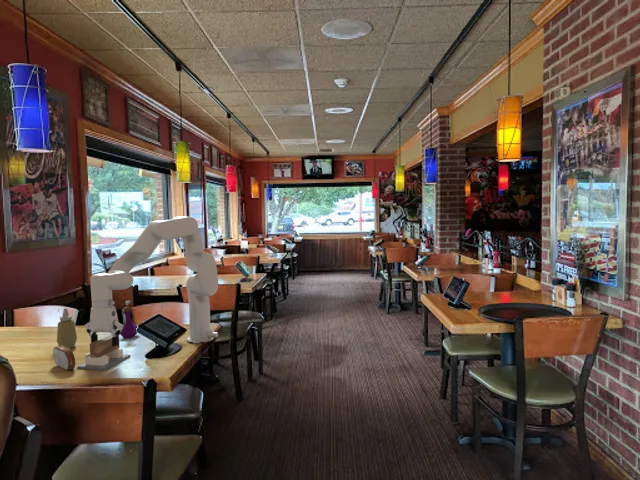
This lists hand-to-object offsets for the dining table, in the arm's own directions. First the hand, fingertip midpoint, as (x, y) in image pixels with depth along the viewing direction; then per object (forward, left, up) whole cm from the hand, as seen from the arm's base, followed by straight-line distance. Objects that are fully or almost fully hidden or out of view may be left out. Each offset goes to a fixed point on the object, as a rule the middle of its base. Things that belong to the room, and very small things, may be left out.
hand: (105, 345), depth 178 cm
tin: (+12, +8, -7) cm, 17 cm away
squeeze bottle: (+32, -16, -7) cm, 37 cm away
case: (0, 0, -3) cm, 3 cm away
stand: (0, 0, -7) cm, 7 cm away
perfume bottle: (+14, -36, -7) cm, 39 cm away
